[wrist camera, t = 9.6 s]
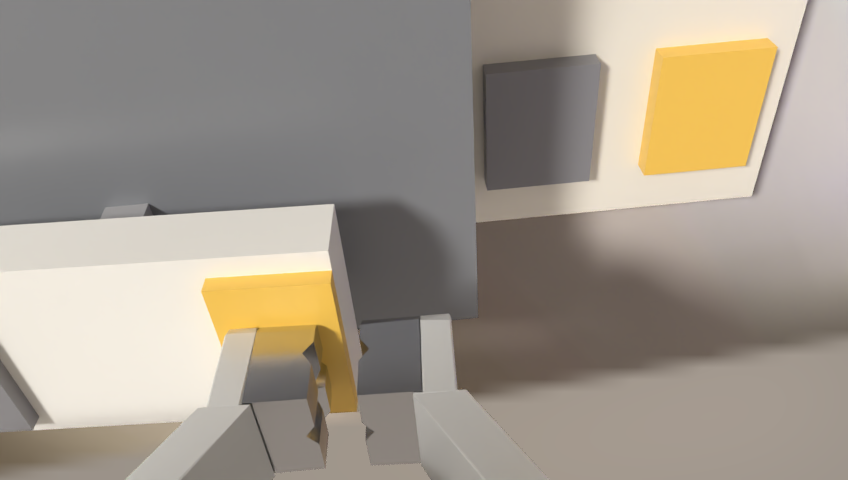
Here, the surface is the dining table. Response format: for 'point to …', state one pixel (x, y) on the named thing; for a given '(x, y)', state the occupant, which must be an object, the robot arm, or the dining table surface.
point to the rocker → (160, 310)
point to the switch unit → (386, 117)
